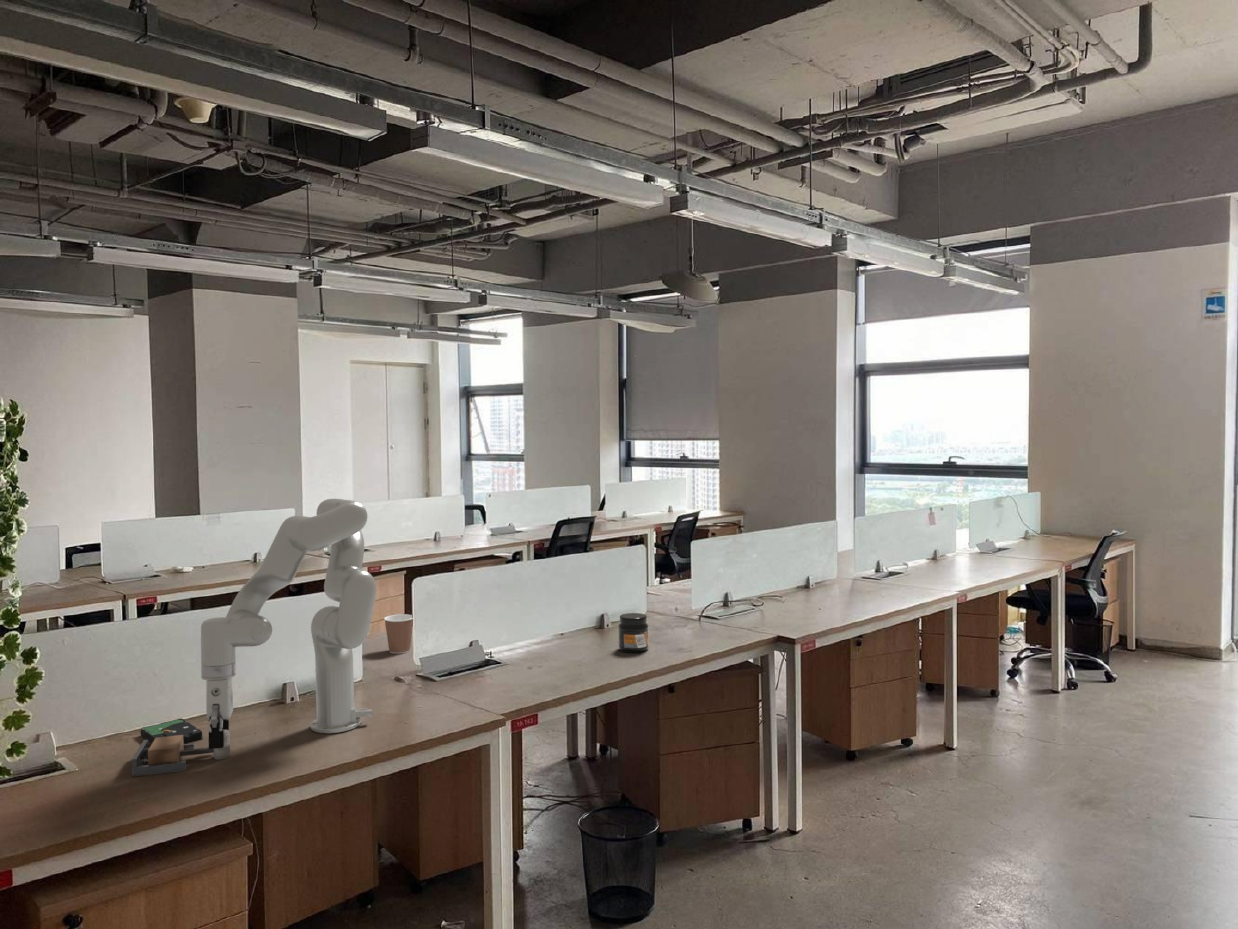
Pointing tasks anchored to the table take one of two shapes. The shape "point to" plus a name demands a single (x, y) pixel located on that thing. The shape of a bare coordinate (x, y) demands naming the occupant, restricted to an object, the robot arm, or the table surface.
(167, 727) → the disk drive
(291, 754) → the table surface
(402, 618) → the coffee cup
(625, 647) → the supplement container
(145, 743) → the grey u-shaped frame
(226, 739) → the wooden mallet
